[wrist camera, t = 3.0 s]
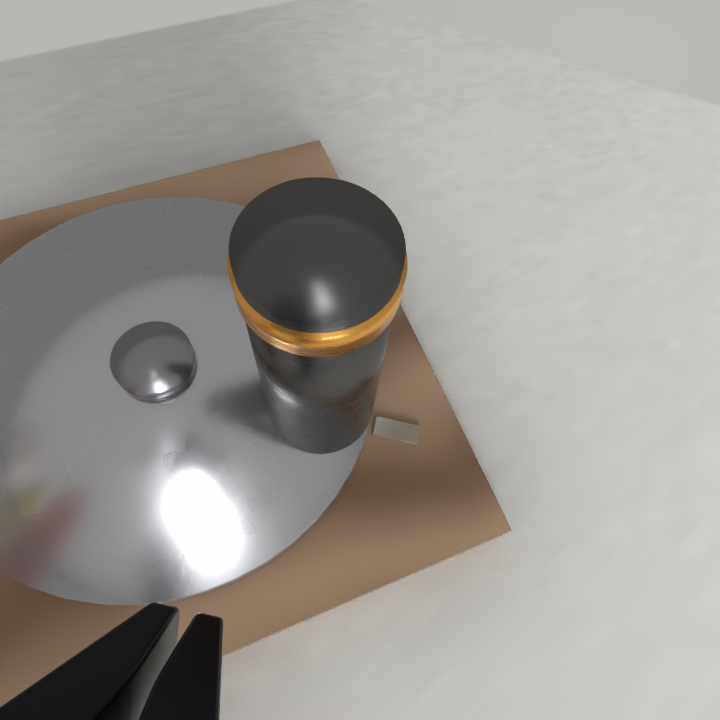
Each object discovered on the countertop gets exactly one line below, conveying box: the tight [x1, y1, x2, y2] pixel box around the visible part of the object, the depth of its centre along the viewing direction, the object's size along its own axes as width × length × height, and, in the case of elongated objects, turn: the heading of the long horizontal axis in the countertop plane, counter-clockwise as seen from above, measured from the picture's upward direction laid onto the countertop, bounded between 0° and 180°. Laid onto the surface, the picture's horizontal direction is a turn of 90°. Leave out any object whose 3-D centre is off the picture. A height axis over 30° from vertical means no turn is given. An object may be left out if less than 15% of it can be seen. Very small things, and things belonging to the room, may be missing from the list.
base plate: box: [0, 140, 511, 707], centre depth 24 cm, size 21×21×2 cm
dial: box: [0, 177, 407, 606], centre depth 18 cm, size 17×17×11 cm
